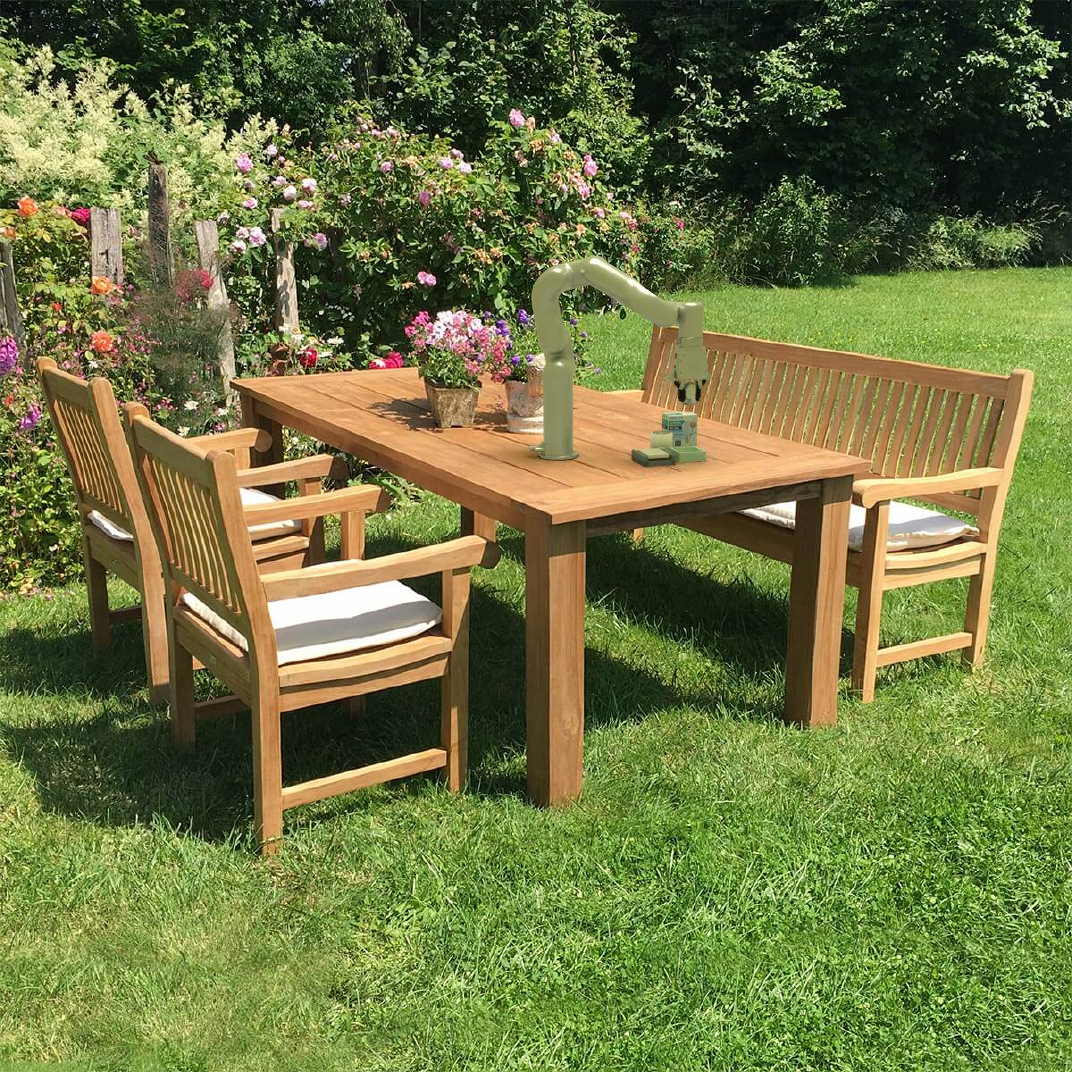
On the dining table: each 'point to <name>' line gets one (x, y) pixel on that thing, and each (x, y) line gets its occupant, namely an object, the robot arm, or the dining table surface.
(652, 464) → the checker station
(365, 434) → the dining table surface
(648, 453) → the checker pad
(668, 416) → the light bulb box
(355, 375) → the dining table surface
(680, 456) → the tray
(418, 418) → the dining table surface
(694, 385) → the cell
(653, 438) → the ceramic cup
